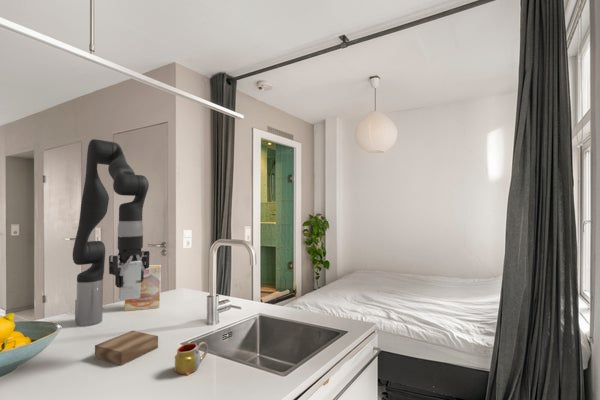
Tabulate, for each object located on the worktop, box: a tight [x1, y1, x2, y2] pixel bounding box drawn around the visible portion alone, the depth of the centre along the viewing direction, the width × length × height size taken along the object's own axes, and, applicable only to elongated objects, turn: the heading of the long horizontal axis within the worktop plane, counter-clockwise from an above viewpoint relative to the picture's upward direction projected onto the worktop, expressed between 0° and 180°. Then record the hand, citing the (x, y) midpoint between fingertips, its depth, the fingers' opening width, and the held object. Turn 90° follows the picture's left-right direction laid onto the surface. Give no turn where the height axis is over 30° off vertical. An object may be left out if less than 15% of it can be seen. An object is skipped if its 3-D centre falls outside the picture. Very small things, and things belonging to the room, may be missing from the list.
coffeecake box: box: [124, 264, 162, 312], centre depth 161 cm, size 15×7×20 cm, turn 111°
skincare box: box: [118, 261, 141, 301], centre depth 112 cm, size 6×4×12 cm
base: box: [94, 330, 159, 366], centre depth 111 cm, size 12×14×4 cm
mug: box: [173, 341, 209, 376], centre depth 102 cm, size 12×7×7 cm, turn 150°
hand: (129, 284), depth 112 cm, fingers closed on skincare box, 7 cm apart
